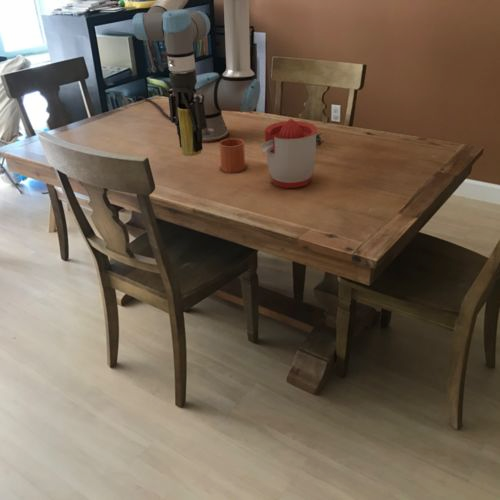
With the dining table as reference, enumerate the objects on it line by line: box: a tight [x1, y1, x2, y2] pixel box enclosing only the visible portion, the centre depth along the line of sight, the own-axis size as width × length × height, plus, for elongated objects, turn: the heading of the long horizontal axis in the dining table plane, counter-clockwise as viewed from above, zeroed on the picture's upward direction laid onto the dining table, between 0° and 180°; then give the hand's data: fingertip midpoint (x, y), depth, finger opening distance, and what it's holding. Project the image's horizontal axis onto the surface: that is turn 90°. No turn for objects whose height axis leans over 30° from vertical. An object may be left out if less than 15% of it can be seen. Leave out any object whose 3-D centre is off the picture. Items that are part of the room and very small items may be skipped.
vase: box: [178, 104, 202, 157], centre depth 154 cm, size 6×6×14 cm
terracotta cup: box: [219, 137, 246, 174], centre depth 171 cm, size 8×8×9 cm
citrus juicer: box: [260, 118, 318, 189], centre depth 157 cm, size 16×17×20 cm
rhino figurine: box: [316, 131, 325, 146], centre depth 188 cm, size 4×14×6 cm, turn 37°
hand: (191, 148), depth 158 cm, fingers closed on vase, 6 cm apart
